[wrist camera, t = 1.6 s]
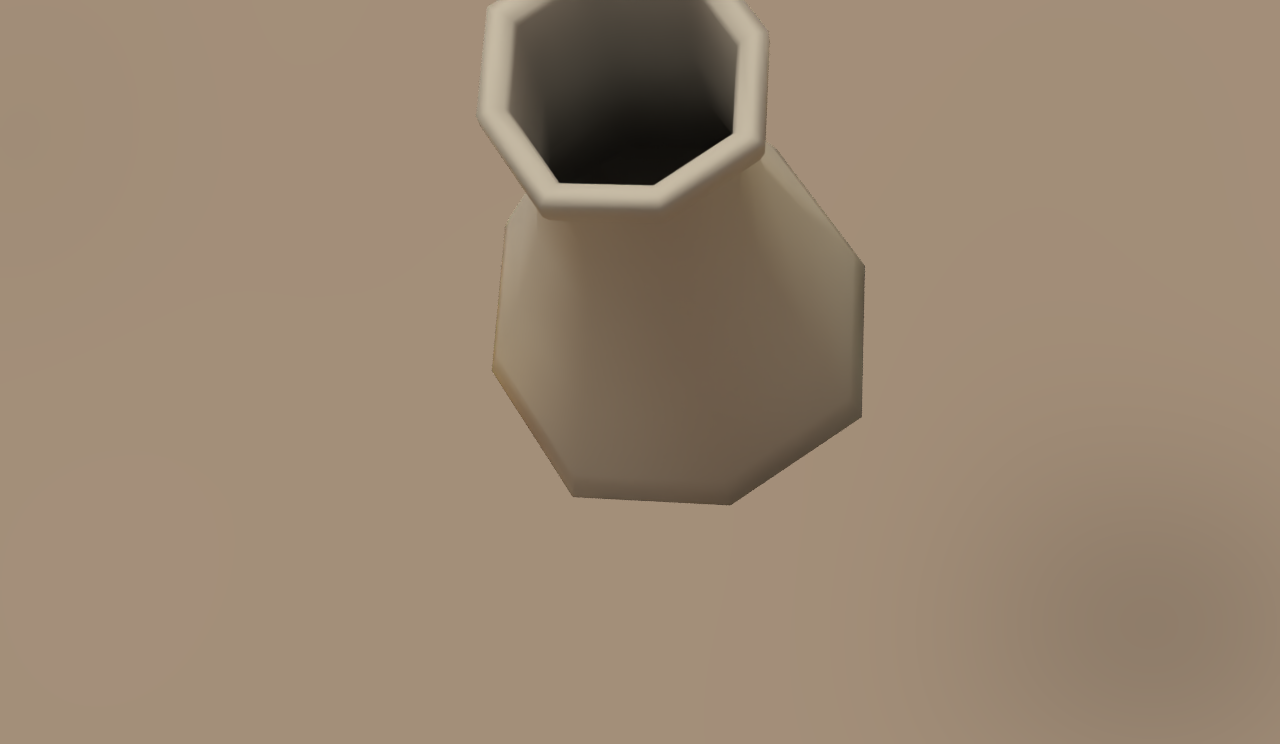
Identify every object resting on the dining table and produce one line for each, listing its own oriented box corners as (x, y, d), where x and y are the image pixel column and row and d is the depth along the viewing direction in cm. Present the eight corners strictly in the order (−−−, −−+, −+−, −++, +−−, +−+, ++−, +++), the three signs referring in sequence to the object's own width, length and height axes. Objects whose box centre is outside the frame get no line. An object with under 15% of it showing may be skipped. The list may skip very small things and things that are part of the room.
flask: (539, 559, 21) (359, 497, 11) (453, 202, 23) (233, -120, 13) (923, 453, 21) (1077, 297, 11) (807, 101, 22) (853, -304, 13)
